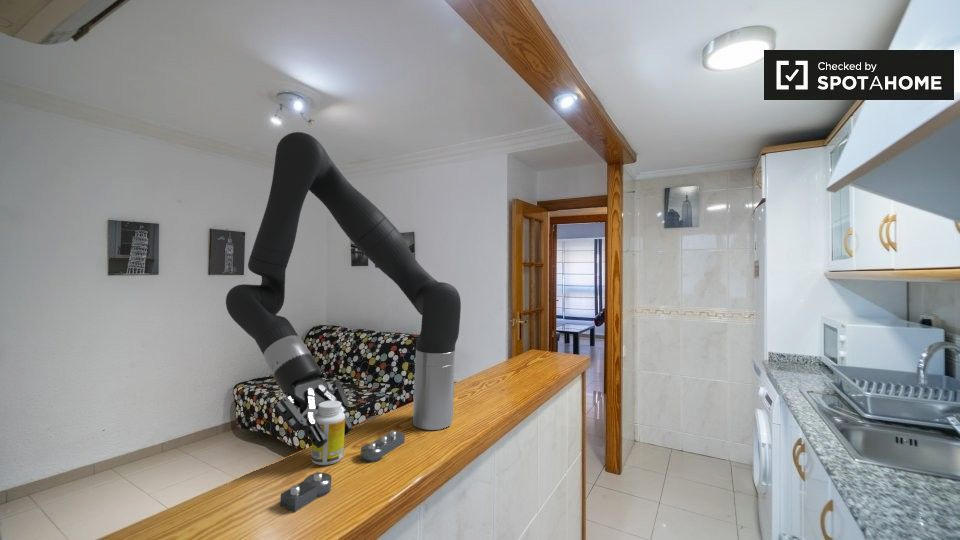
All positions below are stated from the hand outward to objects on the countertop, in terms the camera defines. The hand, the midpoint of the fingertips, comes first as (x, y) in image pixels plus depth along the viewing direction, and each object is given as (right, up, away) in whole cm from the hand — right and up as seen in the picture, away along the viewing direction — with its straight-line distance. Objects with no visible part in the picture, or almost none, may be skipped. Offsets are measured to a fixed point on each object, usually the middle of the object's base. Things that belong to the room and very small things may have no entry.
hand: (335, 438), depth 71 cm
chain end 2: (+7, -5, +5) cm, 10 cm away
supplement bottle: (-2, -4, +1) cm, 5 cm away
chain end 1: (0, -4, -12) cm, 13 cm away
